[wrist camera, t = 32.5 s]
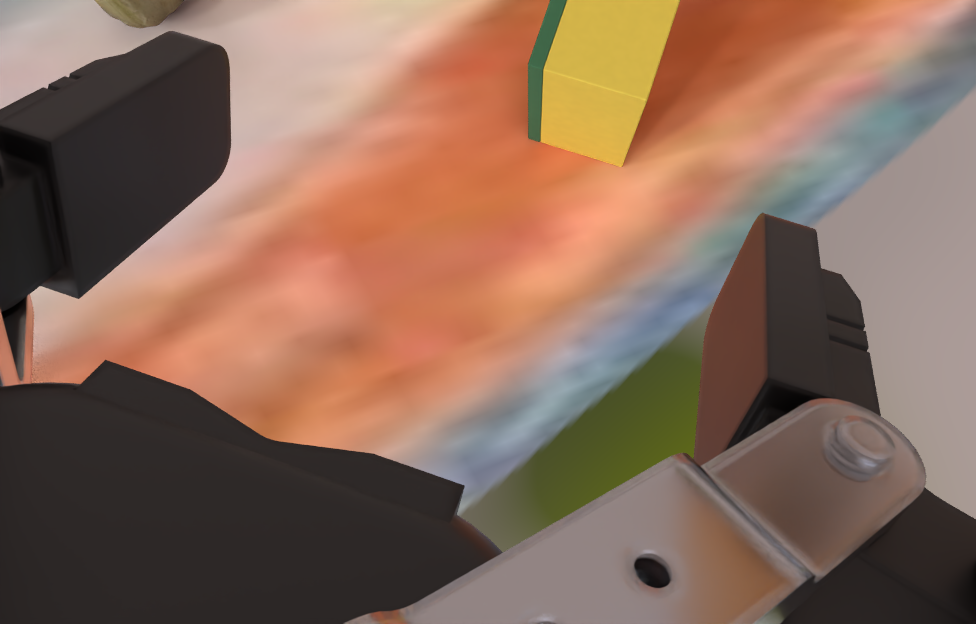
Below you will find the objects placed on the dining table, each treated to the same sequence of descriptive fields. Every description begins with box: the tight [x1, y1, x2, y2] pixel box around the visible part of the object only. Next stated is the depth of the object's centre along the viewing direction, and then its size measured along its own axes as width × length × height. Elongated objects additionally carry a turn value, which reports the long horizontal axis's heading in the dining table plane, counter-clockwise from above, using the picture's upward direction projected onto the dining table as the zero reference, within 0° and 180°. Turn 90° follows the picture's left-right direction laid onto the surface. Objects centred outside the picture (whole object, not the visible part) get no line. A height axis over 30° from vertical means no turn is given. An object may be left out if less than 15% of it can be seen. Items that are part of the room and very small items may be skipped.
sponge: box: [528, 0, 680, 167], centre depth 33 cm, size 5×5×8 cm
